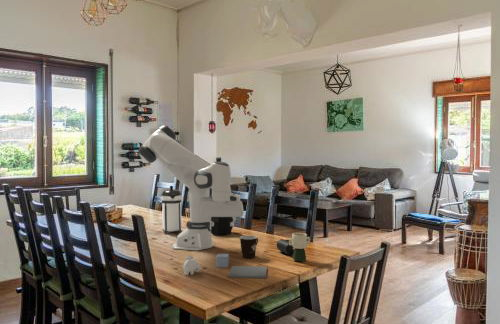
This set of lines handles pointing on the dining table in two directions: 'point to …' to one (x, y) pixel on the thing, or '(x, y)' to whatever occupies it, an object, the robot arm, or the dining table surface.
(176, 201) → the coffee press
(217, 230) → the bottle
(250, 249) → the coffee mug
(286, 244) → the end cap
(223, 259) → the slate cube
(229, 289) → the dining table surface
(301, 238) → the character mug
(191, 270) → the elephant figurine
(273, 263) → the dining table surface
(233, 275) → the charcoal mat
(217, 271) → the dining table surface
